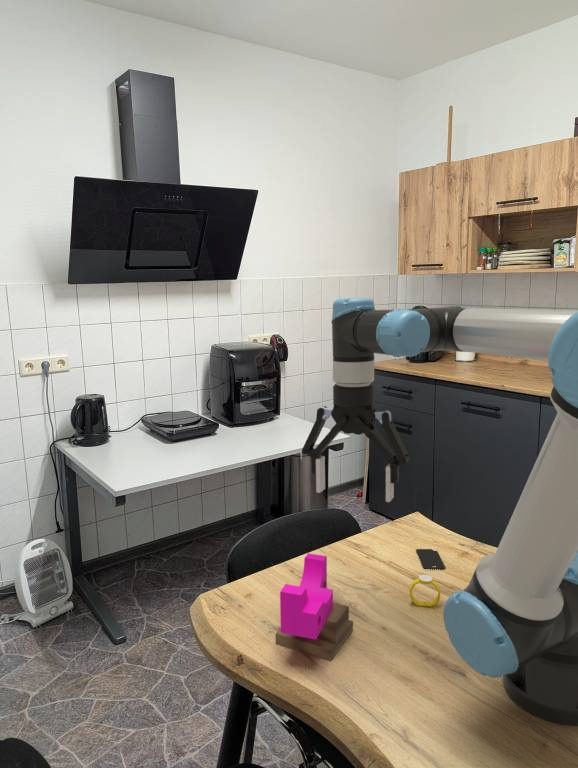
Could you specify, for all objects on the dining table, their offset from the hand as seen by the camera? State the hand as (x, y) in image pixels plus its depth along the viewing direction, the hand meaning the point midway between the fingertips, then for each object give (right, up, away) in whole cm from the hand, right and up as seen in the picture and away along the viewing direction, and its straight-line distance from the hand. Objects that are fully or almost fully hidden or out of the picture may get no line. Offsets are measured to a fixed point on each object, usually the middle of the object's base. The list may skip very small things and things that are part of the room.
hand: (354, 495), depth 110 cm
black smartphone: (+21, -21, +28) cm, 41 cm away
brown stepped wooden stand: (-7, -26, -2) cm, 27 cm away
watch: (+15, -24, +8) cm, 30 cm away
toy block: (-8, -20, -5) cm, 22 cm away
